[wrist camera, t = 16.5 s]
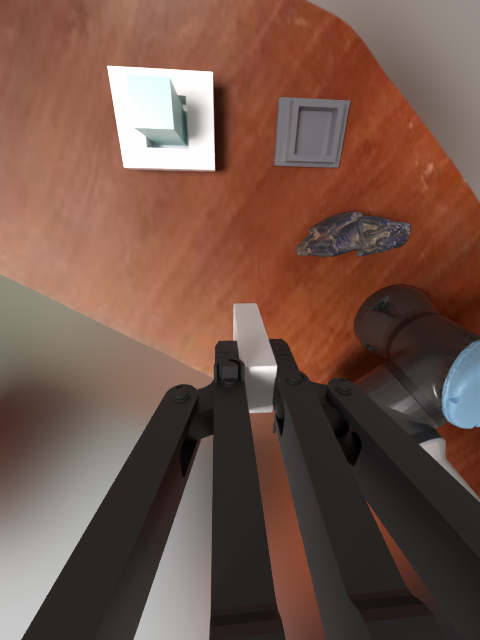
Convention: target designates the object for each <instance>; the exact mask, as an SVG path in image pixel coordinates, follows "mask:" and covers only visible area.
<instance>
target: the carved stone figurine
mask: <svg viewBox="0 0 480 640" xmlns="http://www.w3.org/2000/svg"><path fill="white" fill-rule="evenodd" d="M309 232H310V233H309V235H308V236H307V237H306V238H305V239H304V240H303V241H302V243H301V244H299V245H298V246H297V247H296V252H297V254H299V255H300V256H306V255H314V256H319V257H328V256H331V257H333V256H338V255H341V254H344V253H347V252H349V251H353V250H356V249H358V252H357V255H358V256H365V255H368V254H376V253H380V252H384V251H388V250H390V249H392V248H399V247H401V246H403V245H404V244H405V243H406V242H407V240H408V238H409V235H410V233H411V225H410V224H409V223H407V222H405V223H404V222H398V221H390V220H388V219H387V218H382V217H375V216H366V215H362V214H361V213H359V212H348V213H342V214H337V215H334V216H331V217H329V218H327V219H325V220H324V221H322V222H320V223H318V224H316V225H315V226H313V227H312V228H310V229H309Z"/></svg>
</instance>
